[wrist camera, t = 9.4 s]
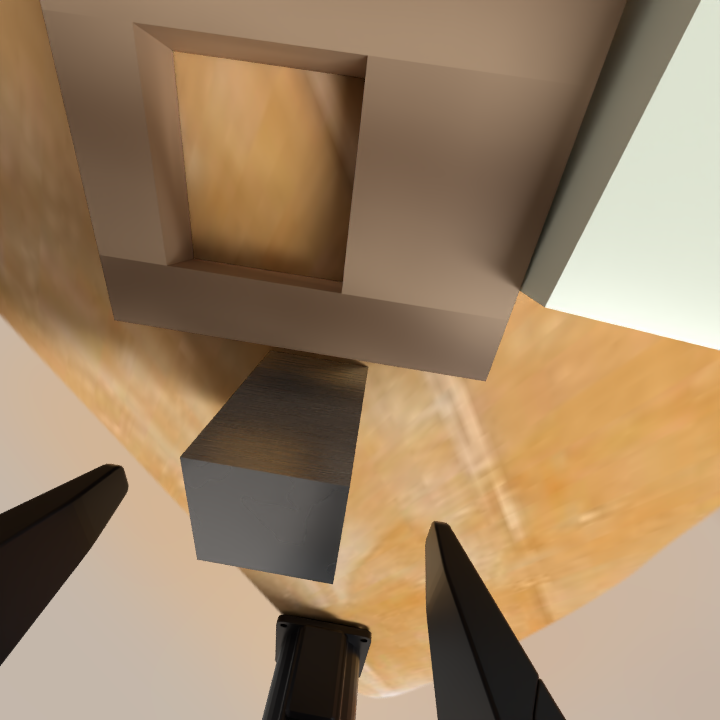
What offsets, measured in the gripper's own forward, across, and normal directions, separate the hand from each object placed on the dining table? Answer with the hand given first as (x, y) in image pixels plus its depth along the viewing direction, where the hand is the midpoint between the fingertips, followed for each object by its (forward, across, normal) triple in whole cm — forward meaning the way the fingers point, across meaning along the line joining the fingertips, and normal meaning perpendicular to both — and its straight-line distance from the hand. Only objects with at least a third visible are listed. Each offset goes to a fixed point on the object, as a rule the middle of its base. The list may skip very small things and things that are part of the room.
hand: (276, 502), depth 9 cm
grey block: (+5, 0, 0) cm, 5 cm away
